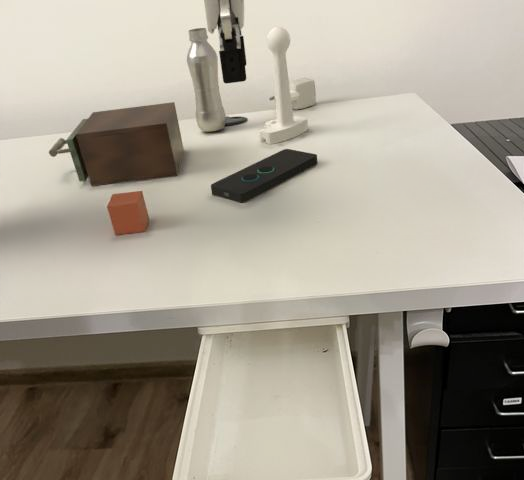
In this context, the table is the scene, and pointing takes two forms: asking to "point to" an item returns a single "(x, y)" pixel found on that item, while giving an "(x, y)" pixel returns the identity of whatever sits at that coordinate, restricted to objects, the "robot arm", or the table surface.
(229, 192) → the smart home device
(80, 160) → the drawer
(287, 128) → the joystick
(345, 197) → the table surface
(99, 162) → the cabinet
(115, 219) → the block
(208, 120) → the metal water bottle
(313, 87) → the power adapter
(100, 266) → the table surface
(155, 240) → the table surface
